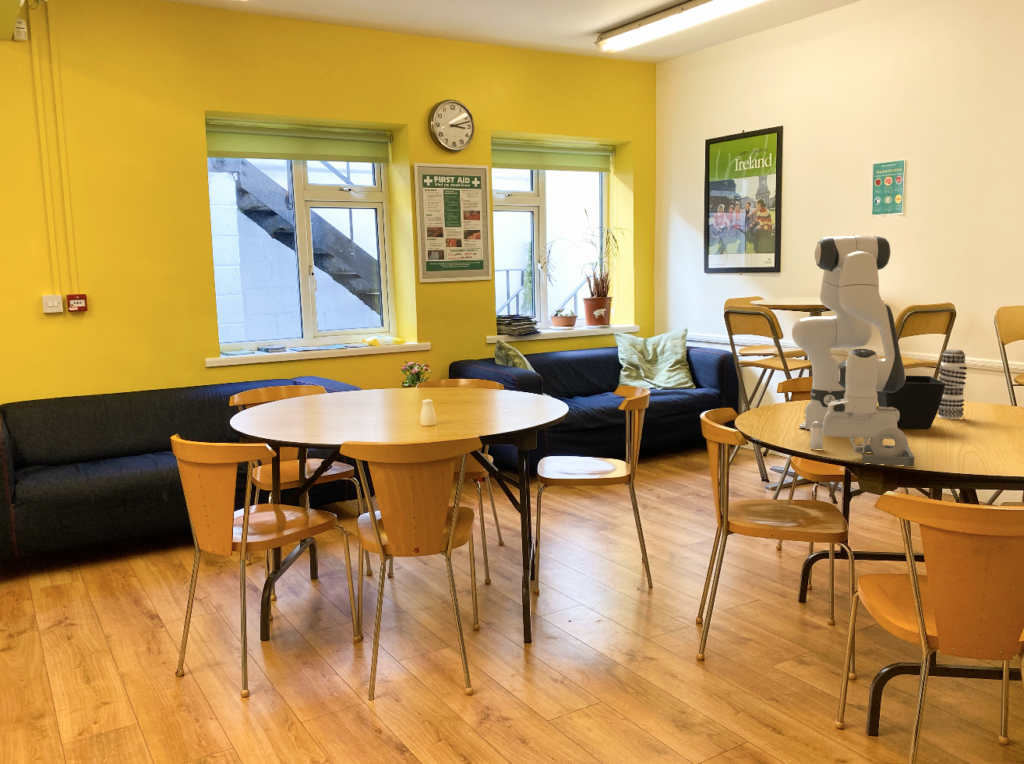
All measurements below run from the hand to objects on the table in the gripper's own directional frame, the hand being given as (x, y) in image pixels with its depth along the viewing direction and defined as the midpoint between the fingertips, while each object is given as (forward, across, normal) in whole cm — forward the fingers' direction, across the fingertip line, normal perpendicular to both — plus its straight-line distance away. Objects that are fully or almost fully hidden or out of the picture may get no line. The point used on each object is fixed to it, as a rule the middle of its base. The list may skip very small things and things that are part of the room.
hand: (858, 452), depth 243 cm
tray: (+2, -7, 0) cm, 7 cm away
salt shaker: (+2, +11, -9) cm, 15 cm away
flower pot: (+2, -19, -59) cm, 62 cm away
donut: (+2, -8, +1) cm, 8 cm away
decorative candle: (+2, -36, -82) cm, 89 cm away
